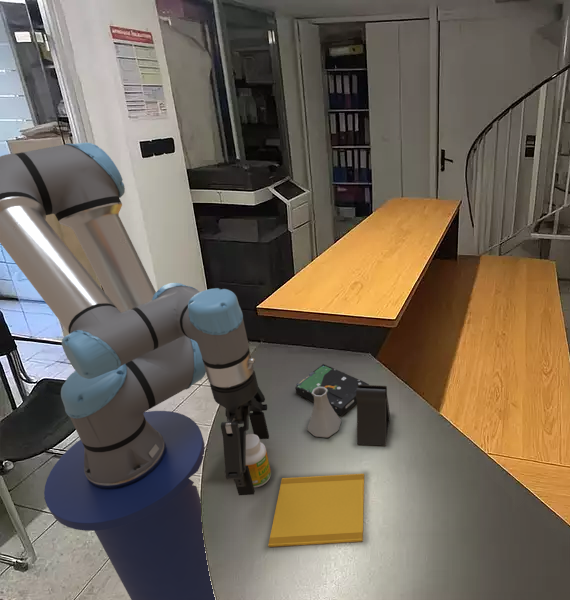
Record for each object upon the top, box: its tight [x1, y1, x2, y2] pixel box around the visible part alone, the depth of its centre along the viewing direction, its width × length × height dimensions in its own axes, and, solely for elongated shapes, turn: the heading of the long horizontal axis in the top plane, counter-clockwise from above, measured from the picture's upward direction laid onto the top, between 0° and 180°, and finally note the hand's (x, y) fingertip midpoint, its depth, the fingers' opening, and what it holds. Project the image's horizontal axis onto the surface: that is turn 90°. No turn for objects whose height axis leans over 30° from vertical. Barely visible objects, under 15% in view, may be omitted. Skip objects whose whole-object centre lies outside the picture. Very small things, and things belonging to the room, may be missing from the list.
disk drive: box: [295, 363, 370, 416], centre depth 116 cm, size 10×3×15 cm
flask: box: [306, 387, 342, 438], centre depth 104 cm, size 7×7×10 cm
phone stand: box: [356, 384, 391, 447], centre depth 102 cm, size 9×6×12 cm, turn 174°
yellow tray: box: [268, 473, 365, 548], centre depth 88 cm, size 16×14×1 cm
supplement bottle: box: [246, 433, 272, 488], centre depth 93 cm, size 5×5×10 cm
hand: (255, 463), depth 93 cm, fingers open, 13 cm apart
